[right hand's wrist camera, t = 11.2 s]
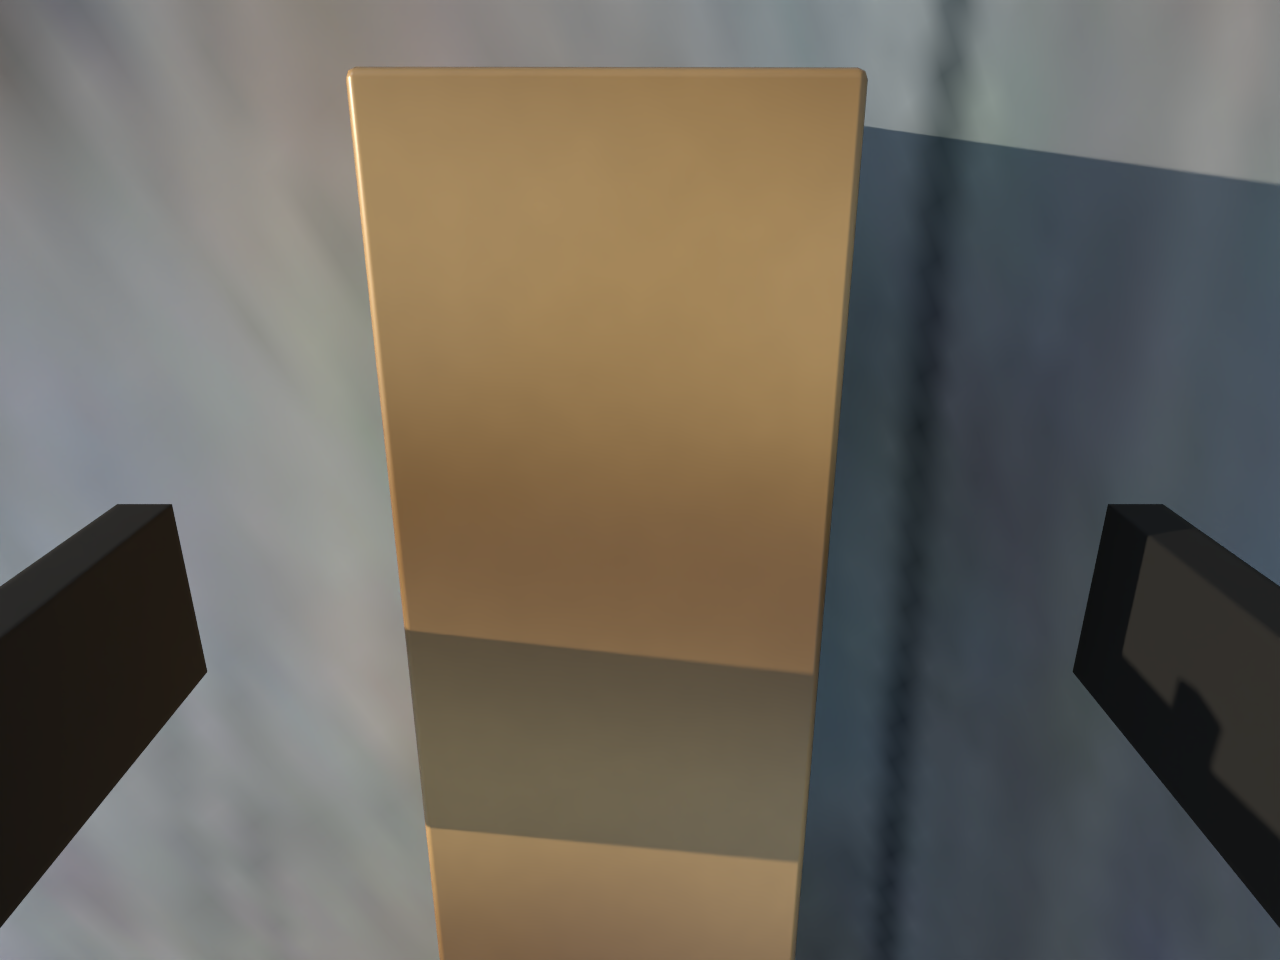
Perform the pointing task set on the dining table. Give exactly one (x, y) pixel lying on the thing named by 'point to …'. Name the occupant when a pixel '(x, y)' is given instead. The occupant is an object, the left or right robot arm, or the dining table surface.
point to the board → (611, 485)
